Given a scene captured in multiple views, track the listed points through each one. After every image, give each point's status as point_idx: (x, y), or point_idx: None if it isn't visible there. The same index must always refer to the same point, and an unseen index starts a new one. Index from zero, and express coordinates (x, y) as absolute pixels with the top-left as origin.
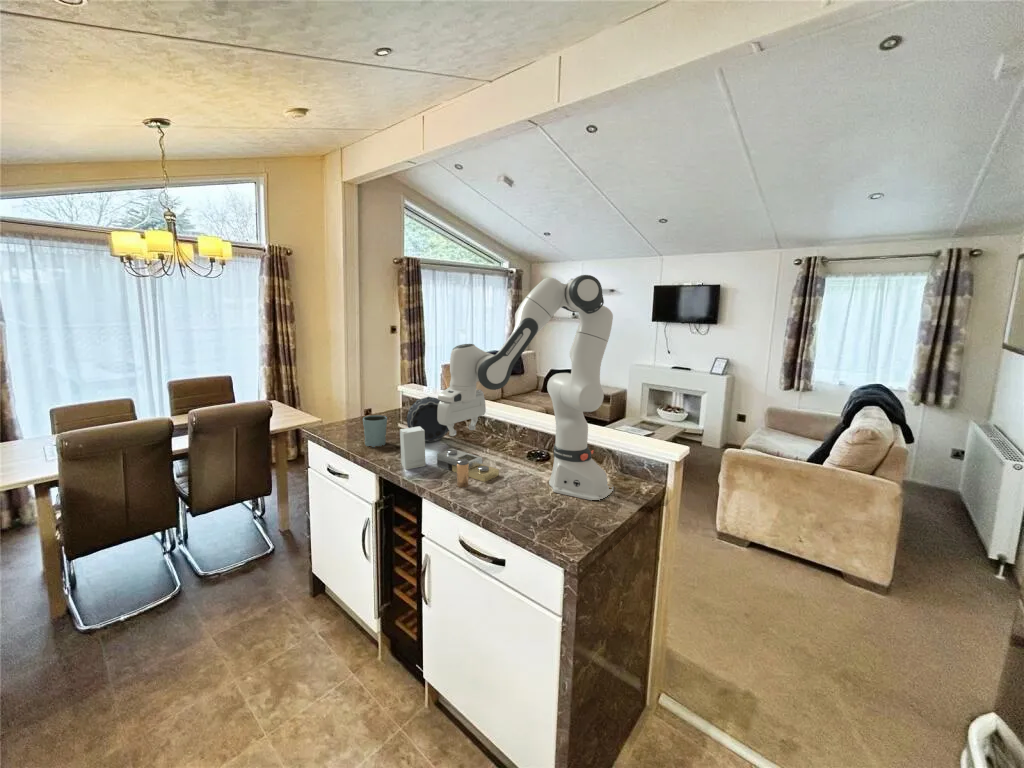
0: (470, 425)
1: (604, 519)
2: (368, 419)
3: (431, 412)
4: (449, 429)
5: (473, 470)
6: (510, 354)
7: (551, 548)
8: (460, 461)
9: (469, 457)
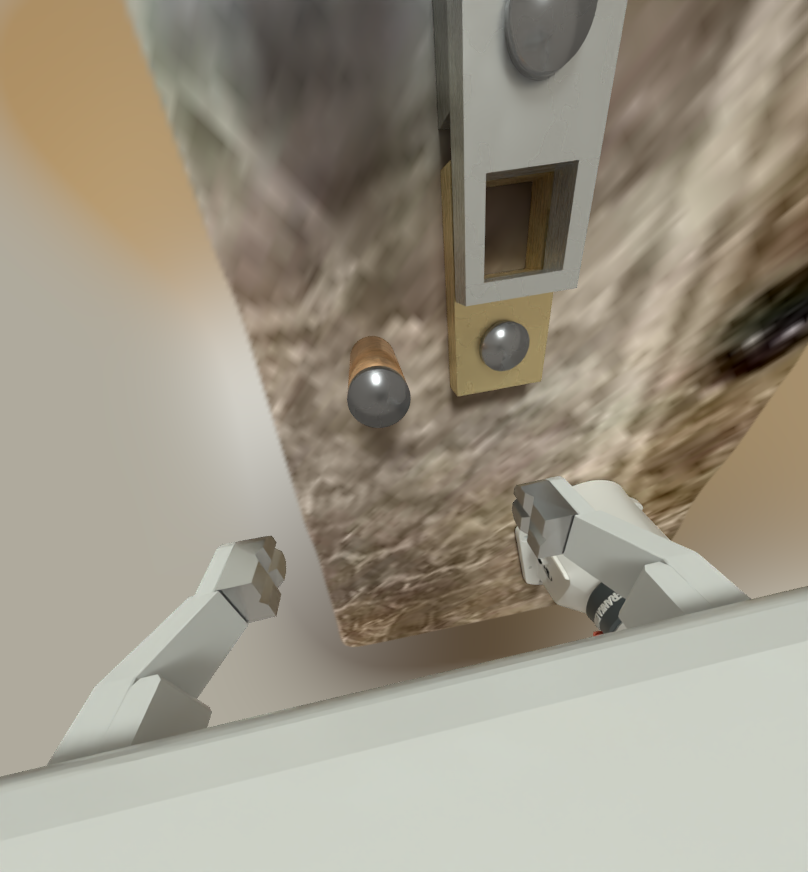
0: (540, 534)
1: (471, 611)
2: None
3: None
4: (178, 627)
5: (469, 322)
6: None
7: (340, 629)
8: (363, 401)
9: (564, 192)
